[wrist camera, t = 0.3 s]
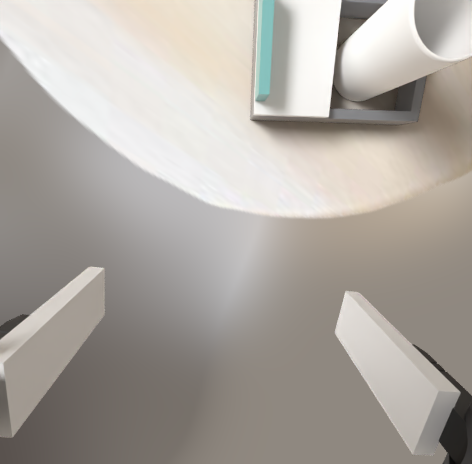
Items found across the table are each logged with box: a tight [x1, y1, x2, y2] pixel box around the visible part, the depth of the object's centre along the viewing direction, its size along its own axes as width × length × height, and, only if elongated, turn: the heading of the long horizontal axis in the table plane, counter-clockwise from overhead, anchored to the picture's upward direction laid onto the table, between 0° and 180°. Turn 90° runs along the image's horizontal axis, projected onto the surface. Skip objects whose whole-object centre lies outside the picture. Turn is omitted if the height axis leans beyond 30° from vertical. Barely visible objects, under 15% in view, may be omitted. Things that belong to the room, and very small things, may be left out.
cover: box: [253, 0, 342, 118], centre depth 30 cm, size 14×9×4 cm
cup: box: [333, 0, 472, 101], centre depth 29 cm, size 8×8×16 cm
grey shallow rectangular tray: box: [250, 0, 427, 125], centre depth 34 cm, size 14×22×4 cm, turn 89°
